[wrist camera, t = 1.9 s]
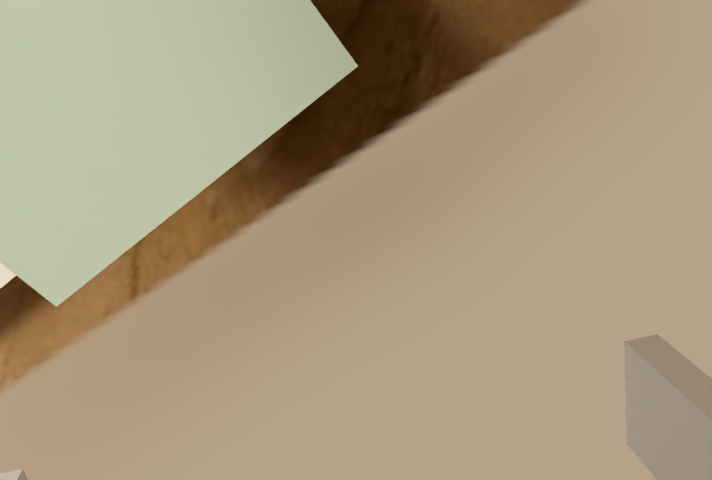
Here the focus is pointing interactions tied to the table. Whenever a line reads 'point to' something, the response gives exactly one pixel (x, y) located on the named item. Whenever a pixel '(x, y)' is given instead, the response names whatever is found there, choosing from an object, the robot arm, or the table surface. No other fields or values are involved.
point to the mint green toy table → (137, 116)
